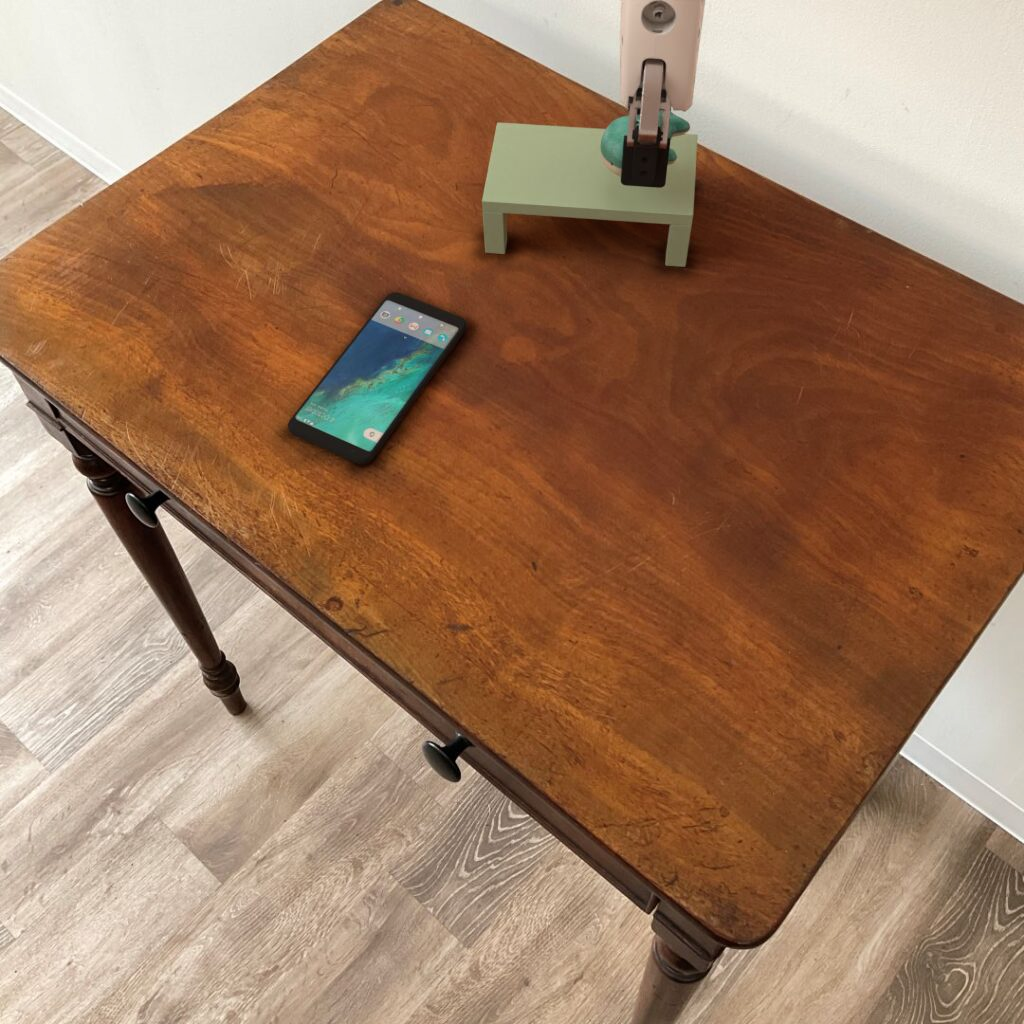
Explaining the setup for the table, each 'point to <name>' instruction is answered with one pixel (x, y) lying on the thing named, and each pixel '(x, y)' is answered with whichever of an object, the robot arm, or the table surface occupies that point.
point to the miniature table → (581, 184)
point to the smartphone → (377, 378)
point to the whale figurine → (619, 128)
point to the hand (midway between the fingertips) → (646, 146)
